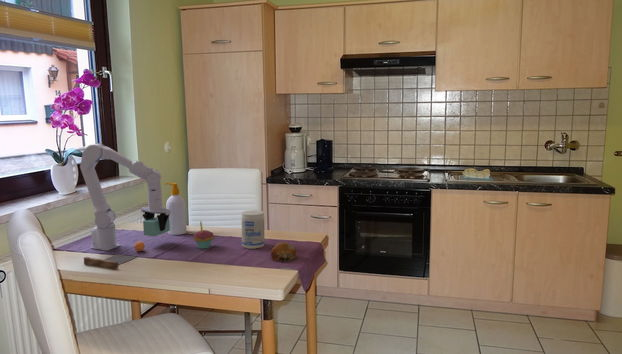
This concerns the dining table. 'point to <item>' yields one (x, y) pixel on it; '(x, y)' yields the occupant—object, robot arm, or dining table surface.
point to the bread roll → (283, 252)
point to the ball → (139, 246)
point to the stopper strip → (101, 263)
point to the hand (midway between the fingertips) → (156, 229)
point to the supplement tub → (253, 229)
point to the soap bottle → (176, 212)
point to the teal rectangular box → (154, 227)
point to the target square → (120, 258)
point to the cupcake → (203, 238)
